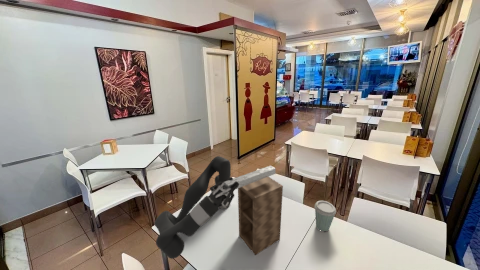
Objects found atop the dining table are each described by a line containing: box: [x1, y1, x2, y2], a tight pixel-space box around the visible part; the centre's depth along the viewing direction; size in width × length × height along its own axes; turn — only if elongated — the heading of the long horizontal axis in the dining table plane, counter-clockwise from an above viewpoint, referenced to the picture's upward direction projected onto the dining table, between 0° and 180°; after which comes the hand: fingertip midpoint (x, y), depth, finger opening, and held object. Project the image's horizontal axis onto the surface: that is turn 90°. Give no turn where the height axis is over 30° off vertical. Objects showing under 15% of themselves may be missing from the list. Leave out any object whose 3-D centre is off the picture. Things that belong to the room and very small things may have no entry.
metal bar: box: [224, 165, 276, 190], centre depth 88 cm, size 26×4×3 cm, turn 123°
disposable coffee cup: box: [314, 200, 337, 232], centre depth 105 cm, size 11×11×15 cm
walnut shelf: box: [237, 176, 284, 256], centre depth 97 cm, size 16×14×32 cm
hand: (235, 180), depth 83 cm, fingers closed on metal bar, 3 cm apart
